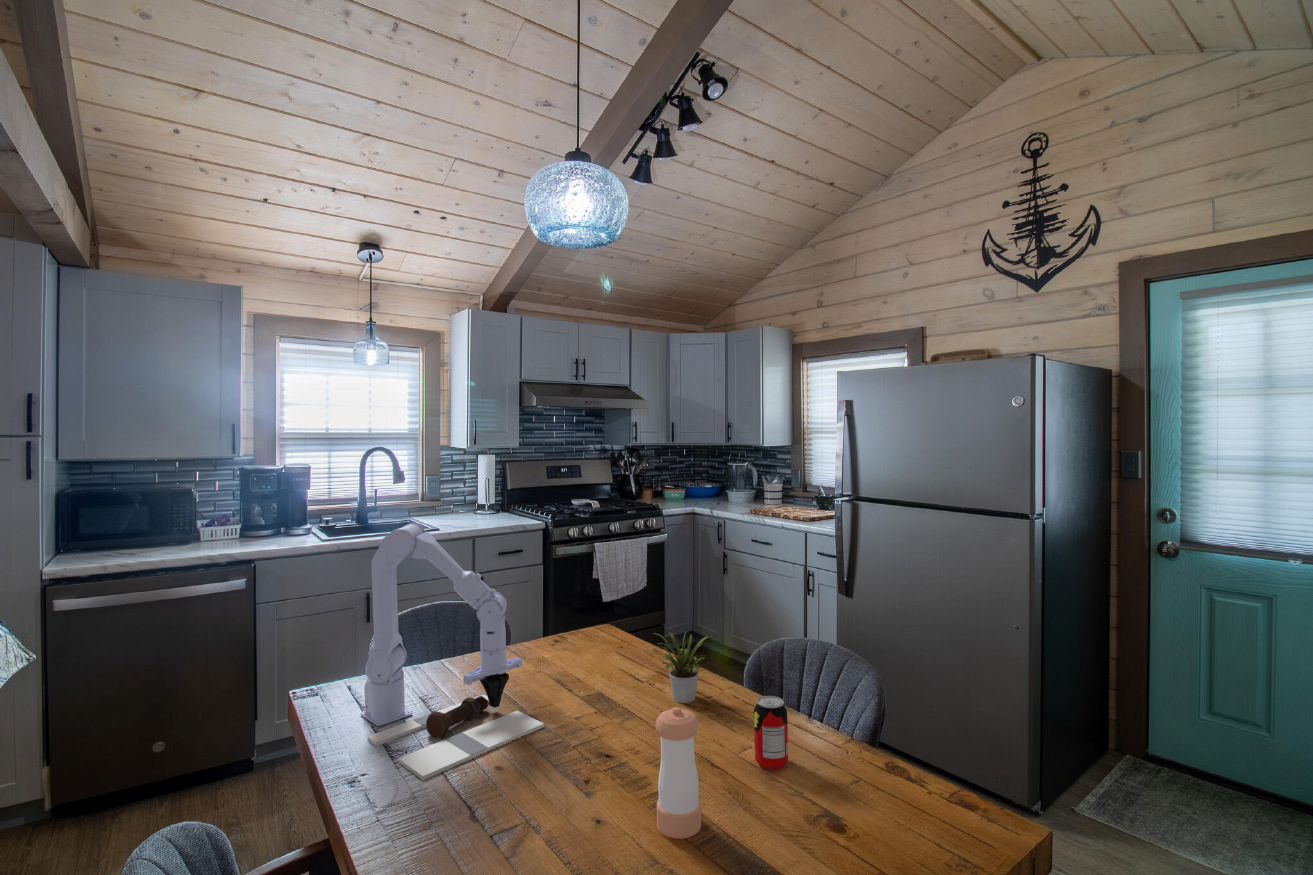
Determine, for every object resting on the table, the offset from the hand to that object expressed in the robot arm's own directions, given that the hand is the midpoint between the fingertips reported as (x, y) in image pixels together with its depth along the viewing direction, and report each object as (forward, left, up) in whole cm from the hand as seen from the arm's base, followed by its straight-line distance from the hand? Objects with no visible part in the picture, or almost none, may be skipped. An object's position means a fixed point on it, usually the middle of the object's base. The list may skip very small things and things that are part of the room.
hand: (494, 705), depth 148 cm
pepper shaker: (+60, -4, -2) cm, 60 cm away
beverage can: (+61, +22, -2) cm, 65 cm away
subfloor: (+3, -11, -1) cm, 12 cm away
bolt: (-1, -8, -2) cm, 8 cm away
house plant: (+28, +33, -2) cm, 43 cm away
